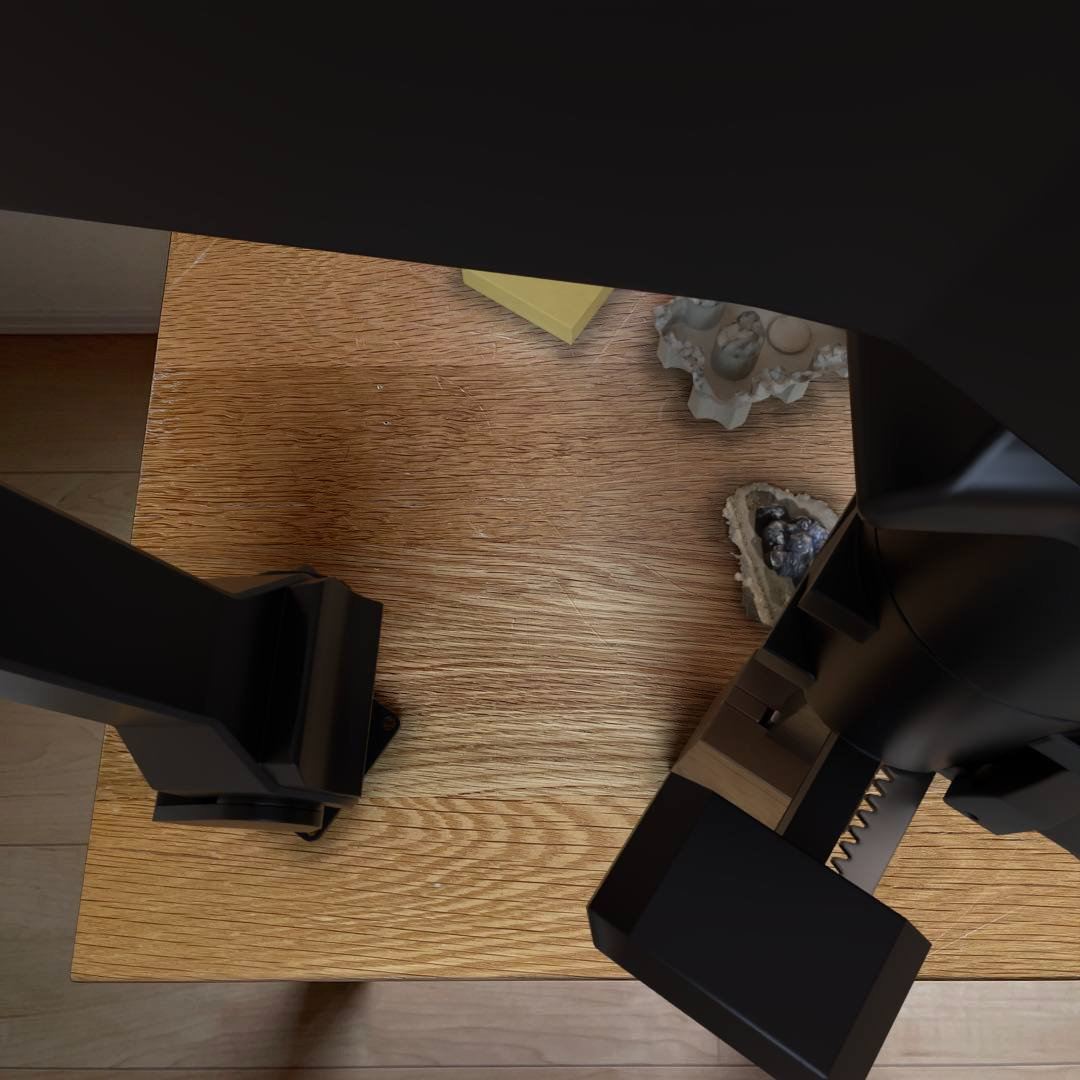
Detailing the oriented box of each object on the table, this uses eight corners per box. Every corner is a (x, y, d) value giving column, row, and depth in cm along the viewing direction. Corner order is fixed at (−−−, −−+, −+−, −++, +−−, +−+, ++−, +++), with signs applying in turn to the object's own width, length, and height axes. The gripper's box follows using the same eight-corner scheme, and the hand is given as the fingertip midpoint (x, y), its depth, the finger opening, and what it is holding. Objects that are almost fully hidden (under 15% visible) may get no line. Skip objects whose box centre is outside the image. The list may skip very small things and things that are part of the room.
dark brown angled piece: (809, 781, 33) (882, 749, 26) (750, 742, 34) (805, 700, 26) (831, 743, 34) (909, 701, 26) (772, 705, 34) (832, 654, 27)
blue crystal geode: (773, 660, 43) (782, 650, 42) (677, 522, 46) (681, 507, 44) (890, 588, 45) (904, 575, 43) (790, 456, 47) (799, 439, 45)
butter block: (571, 345, 50) (571, 328, 48) (463, 283, 51) (460, 265, 49) (616, 286, 51) (618, 268, 49) (509, 227, 52) (508, 208, 51)
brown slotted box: (779, 848, 41) (844, 835, 31) (668, 773, 42) (699, 740, 33) (824, 769, 42) (899, 735, 33) (714, 698, 43) (757, 646, 34)
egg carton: (817, 263, 51) (839, 211, 47) (887, 375, 49) (915, 330, 45) (637, 328, 50) (644, 281, 46) (699, 447, 47) (712, 407, 43)
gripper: (1380, 1536, 11) (912, 1167, 26) (1722, 363, 16) (1170, 614, 31) (577, 950, 13) (569, 919, 28) (1100, 91, 18) (862, 444, 33)
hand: (813, 714), depth 30 cm, fingers open, 9 cm apart
